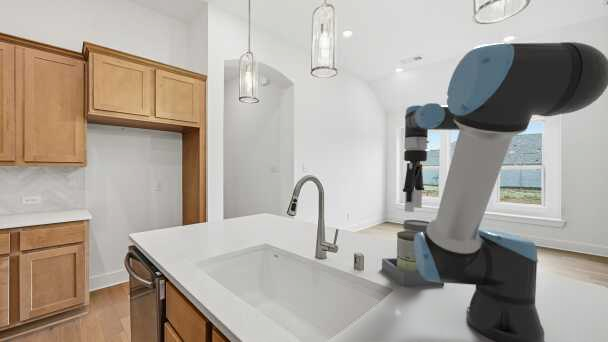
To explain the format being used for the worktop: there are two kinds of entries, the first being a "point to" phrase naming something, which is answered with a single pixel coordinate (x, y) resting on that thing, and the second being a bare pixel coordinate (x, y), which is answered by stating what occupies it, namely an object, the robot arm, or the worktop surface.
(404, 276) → the housing tray
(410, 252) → the coffee can
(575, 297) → the worktop surface
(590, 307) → the worktop surface
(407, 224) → the reusable coffee cup
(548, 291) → the worktop surface
